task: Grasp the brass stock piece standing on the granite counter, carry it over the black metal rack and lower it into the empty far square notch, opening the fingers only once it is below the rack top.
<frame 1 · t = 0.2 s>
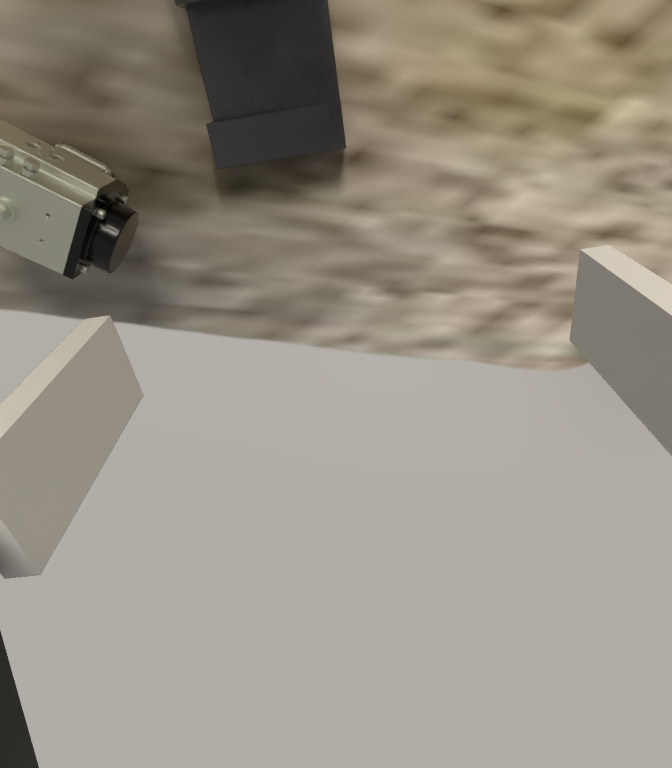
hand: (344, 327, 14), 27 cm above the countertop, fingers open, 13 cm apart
pneumatic valve: (86, 169, 38), on the countertop
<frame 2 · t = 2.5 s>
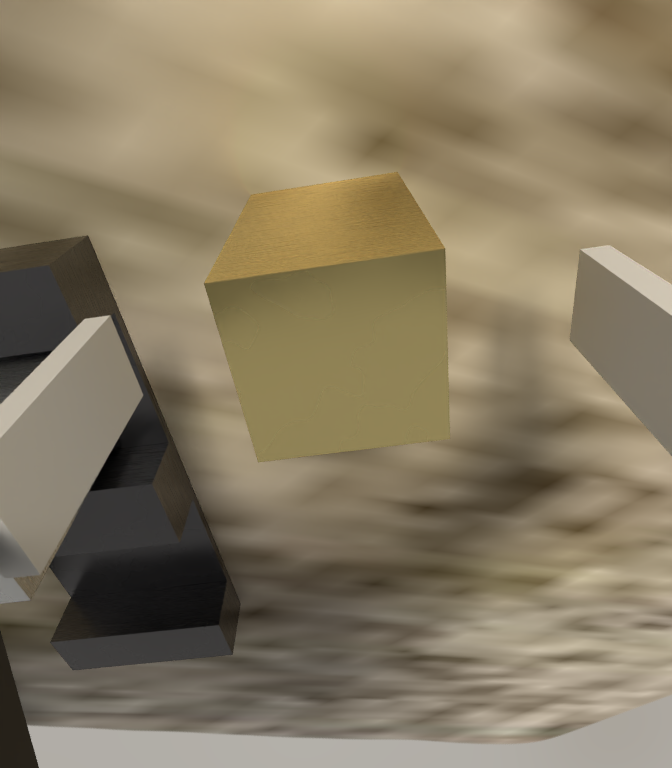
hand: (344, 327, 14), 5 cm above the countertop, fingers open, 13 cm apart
rack: (91, 477, 24), on the countertop
light grey upright block: (39, 396, 21), resting on rack
brass stock piece: (334, 254, 18), on the countertop
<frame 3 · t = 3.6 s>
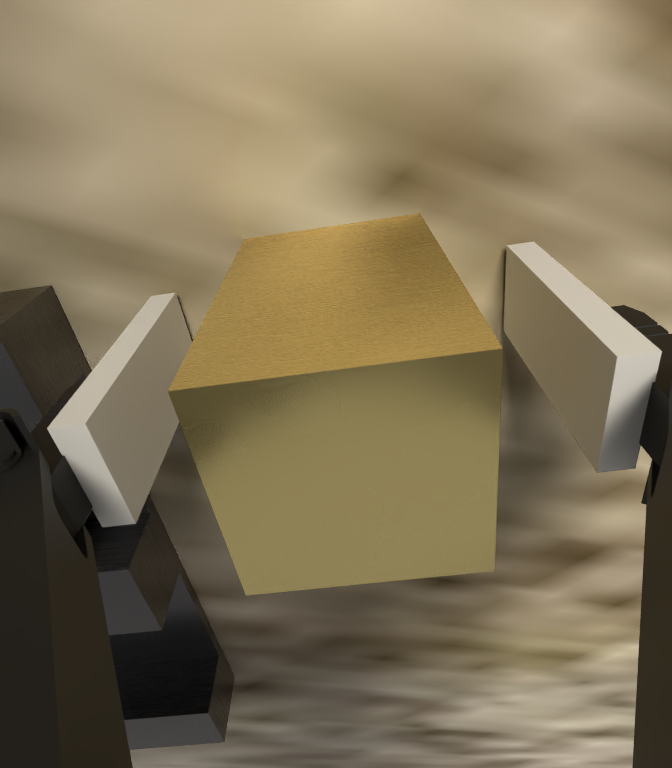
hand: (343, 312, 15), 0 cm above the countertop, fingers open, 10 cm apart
rack: (64, 547, 21), on the countertop
brass stock piece: (342, 307, 16), on the countertop
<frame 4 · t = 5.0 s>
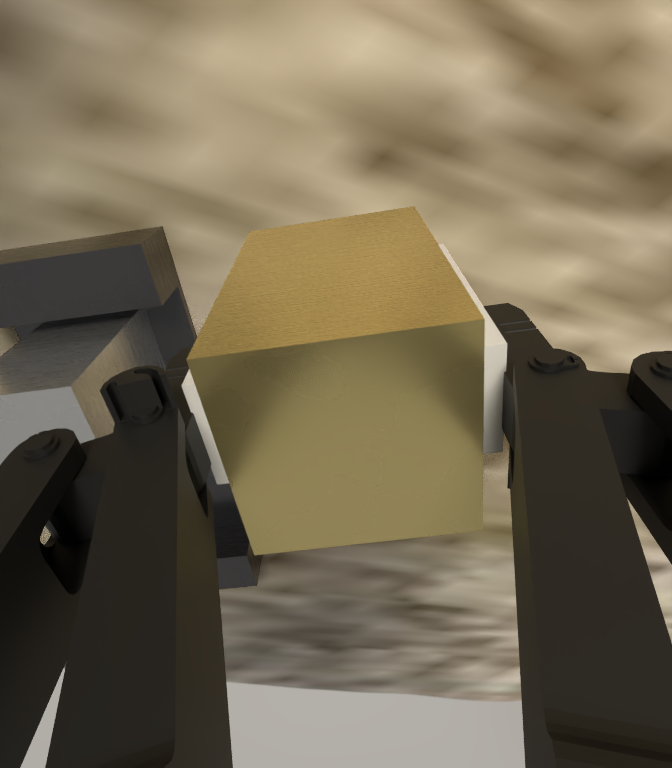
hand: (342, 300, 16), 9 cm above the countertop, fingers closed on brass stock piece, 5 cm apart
rack: (147, 426, 30), on the countertop
light grey upright block: (113, 354, 27), resting on rack
brass stock piece: (342, 296, 16), point 9 cm above the countertop, touching gripper
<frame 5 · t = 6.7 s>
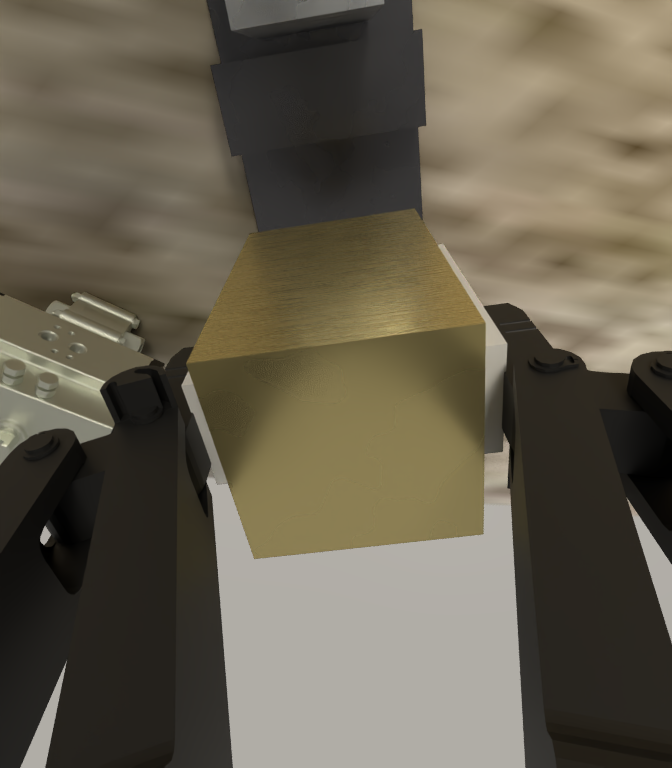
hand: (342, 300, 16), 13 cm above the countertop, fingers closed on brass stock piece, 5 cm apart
rack: (322, 92, 25), on the countertop
brass stock piece: (342, 298, 16), point 13 cm above the countertop, touching gripper
pneumatic valve: (108, 316, 31), on the countertop
when the fingers open (1 cm above the countertop, at t = 8.9 s): brass stock piece stays where it is, resting on rack.
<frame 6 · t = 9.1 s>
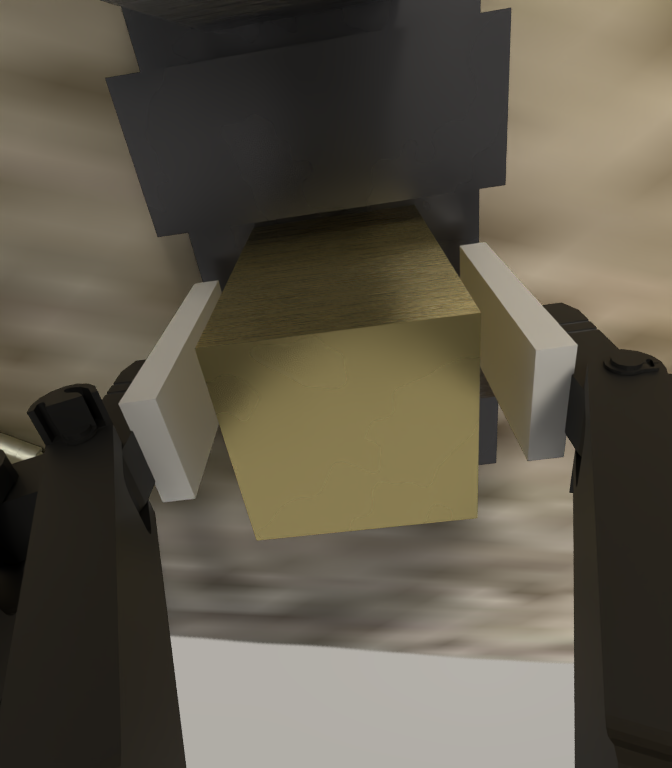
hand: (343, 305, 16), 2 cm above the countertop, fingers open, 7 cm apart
rack: (318, 122, 14), on the countertop
brass stock piece: (343, 292, 17), resting on rack
pneumatic valve: (1, 447, 21), on the countertop
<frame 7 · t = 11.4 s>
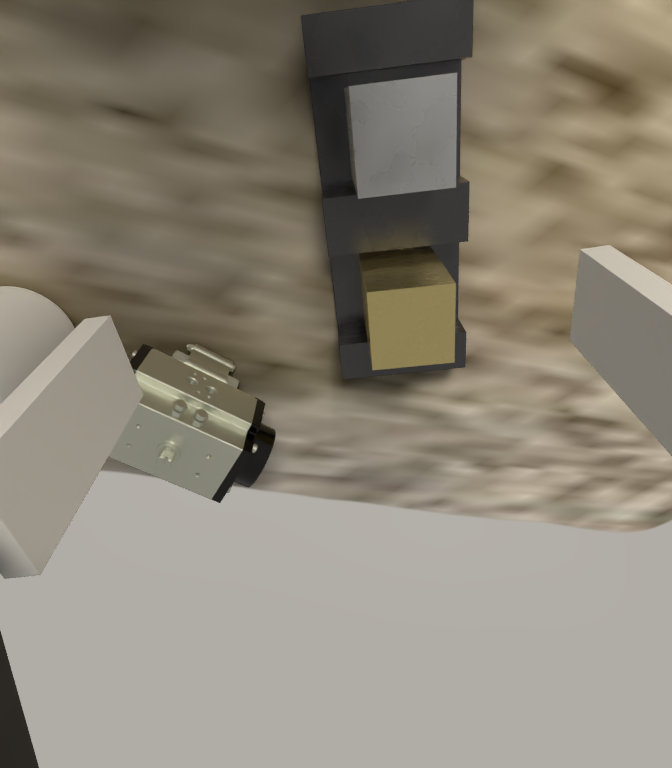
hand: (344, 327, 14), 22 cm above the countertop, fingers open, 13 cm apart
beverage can: (30, 333, 39), on the countertop
rack: (391, 211, 34), on the countertop
light grey upright block: (387, 129, 31), resting on rack
brass stock piece: (396, 284, 36), resting on rack
pneumatic valve: (209, 362, 40), on the countertop
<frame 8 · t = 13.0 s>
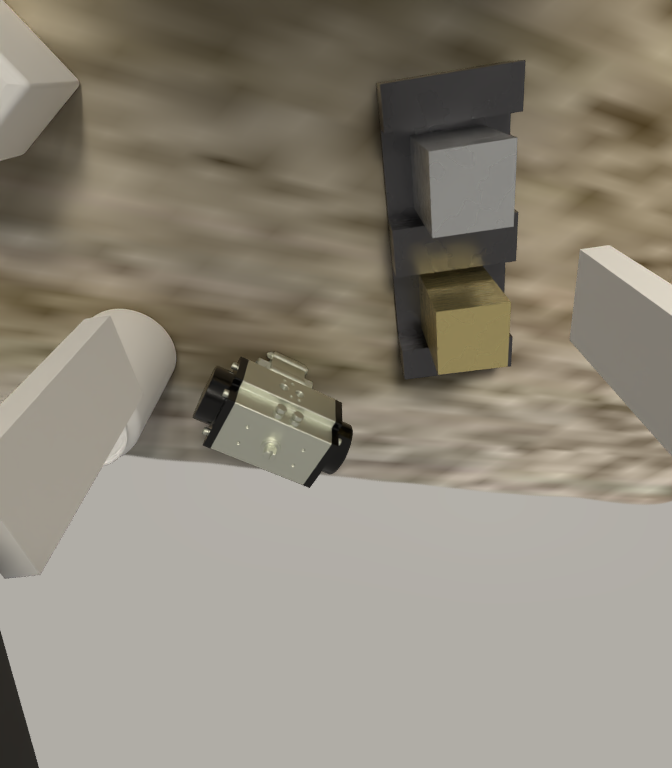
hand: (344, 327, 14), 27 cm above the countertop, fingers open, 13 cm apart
medicine bottle: (8, 74, 34), on the countertop
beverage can: (132, 346, 45), on the countertop
rack: (447, 234, 40), on the countertop
light grey upright block: (446, 168, 37), resting on rack
brass stock piece: (449, 296, 42), resting on rack
pneumatic valve: (284, 366, 46), on the countertop
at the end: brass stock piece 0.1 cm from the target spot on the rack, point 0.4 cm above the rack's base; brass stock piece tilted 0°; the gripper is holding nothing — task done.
